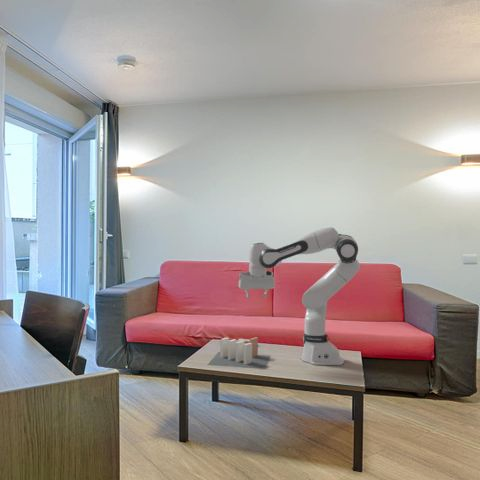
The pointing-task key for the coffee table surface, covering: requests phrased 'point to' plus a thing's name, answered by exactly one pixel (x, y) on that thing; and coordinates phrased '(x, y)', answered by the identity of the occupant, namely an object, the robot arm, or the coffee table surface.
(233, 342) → the domino
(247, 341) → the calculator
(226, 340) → the domino
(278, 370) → the coffee table surface
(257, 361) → the domino mat
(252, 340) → the domino
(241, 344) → the domino
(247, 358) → the domino
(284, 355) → the coffee table surface
